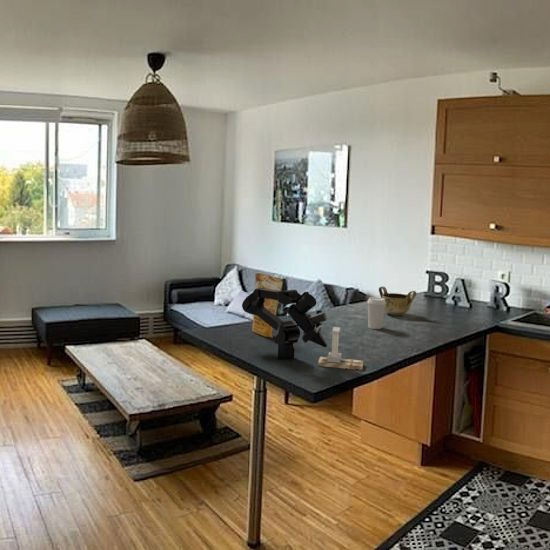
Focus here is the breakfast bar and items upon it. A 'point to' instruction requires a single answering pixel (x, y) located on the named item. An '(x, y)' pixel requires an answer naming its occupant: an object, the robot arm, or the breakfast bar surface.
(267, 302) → the pancake mix bag
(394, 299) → the basket with handles
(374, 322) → the coffee cup
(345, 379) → the breakfast bar surface
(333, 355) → the fader tab
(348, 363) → the fader console
